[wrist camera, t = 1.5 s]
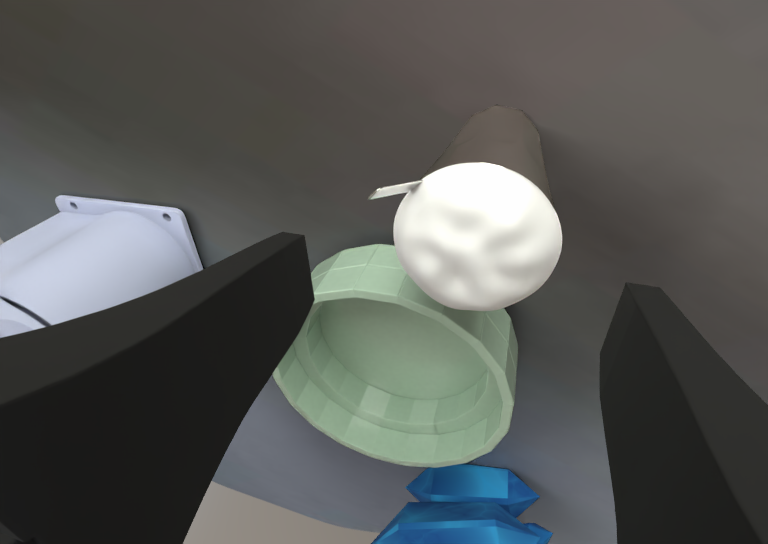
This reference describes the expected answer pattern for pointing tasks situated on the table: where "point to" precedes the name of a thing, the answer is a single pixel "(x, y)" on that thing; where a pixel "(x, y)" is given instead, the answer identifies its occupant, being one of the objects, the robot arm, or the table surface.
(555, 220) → the milkshake
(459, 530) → the crystal
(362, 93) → the table surface
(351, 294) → the bowl
